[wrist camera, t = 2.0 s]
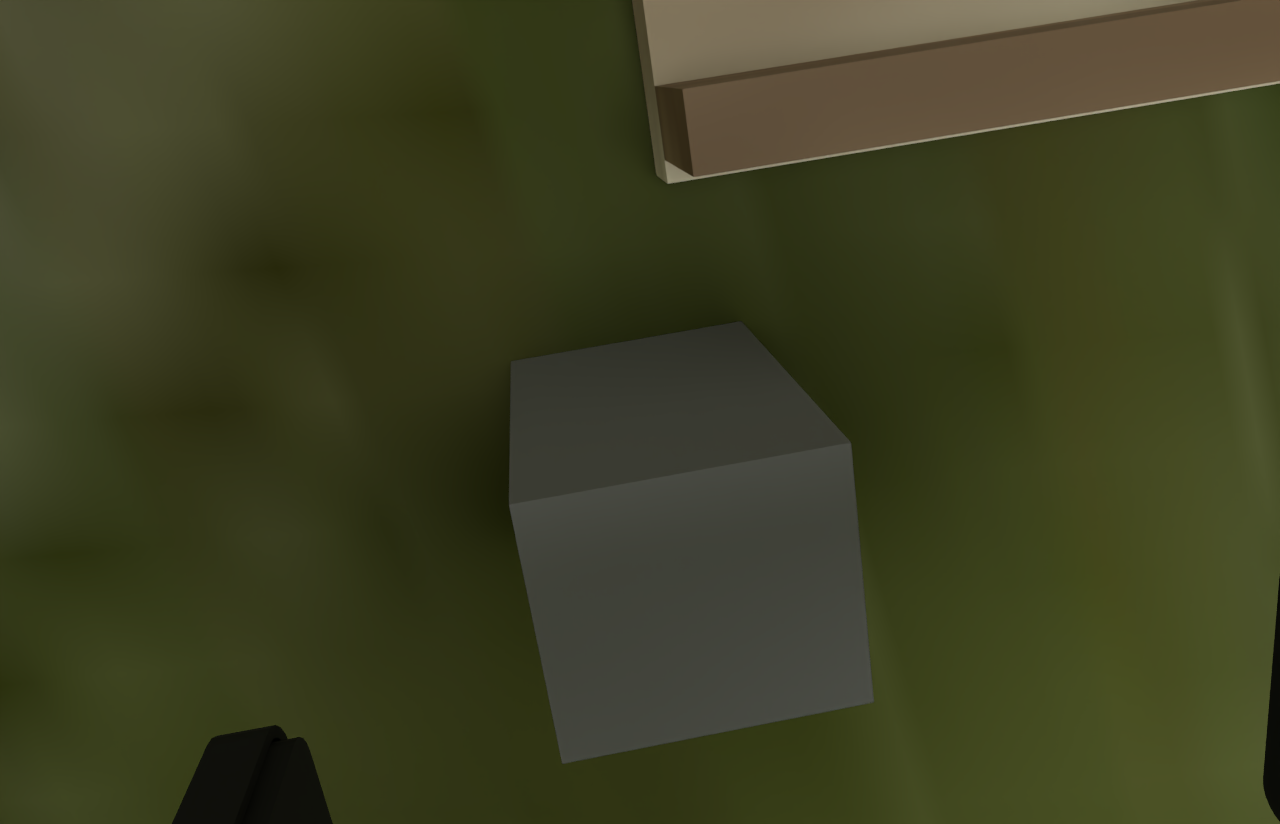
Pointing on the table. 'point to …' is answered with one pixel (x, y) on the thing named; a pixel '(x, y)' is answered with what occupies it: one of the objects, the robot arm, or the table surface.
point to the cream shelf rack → (921, 70)
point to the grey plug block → (684, 541)
